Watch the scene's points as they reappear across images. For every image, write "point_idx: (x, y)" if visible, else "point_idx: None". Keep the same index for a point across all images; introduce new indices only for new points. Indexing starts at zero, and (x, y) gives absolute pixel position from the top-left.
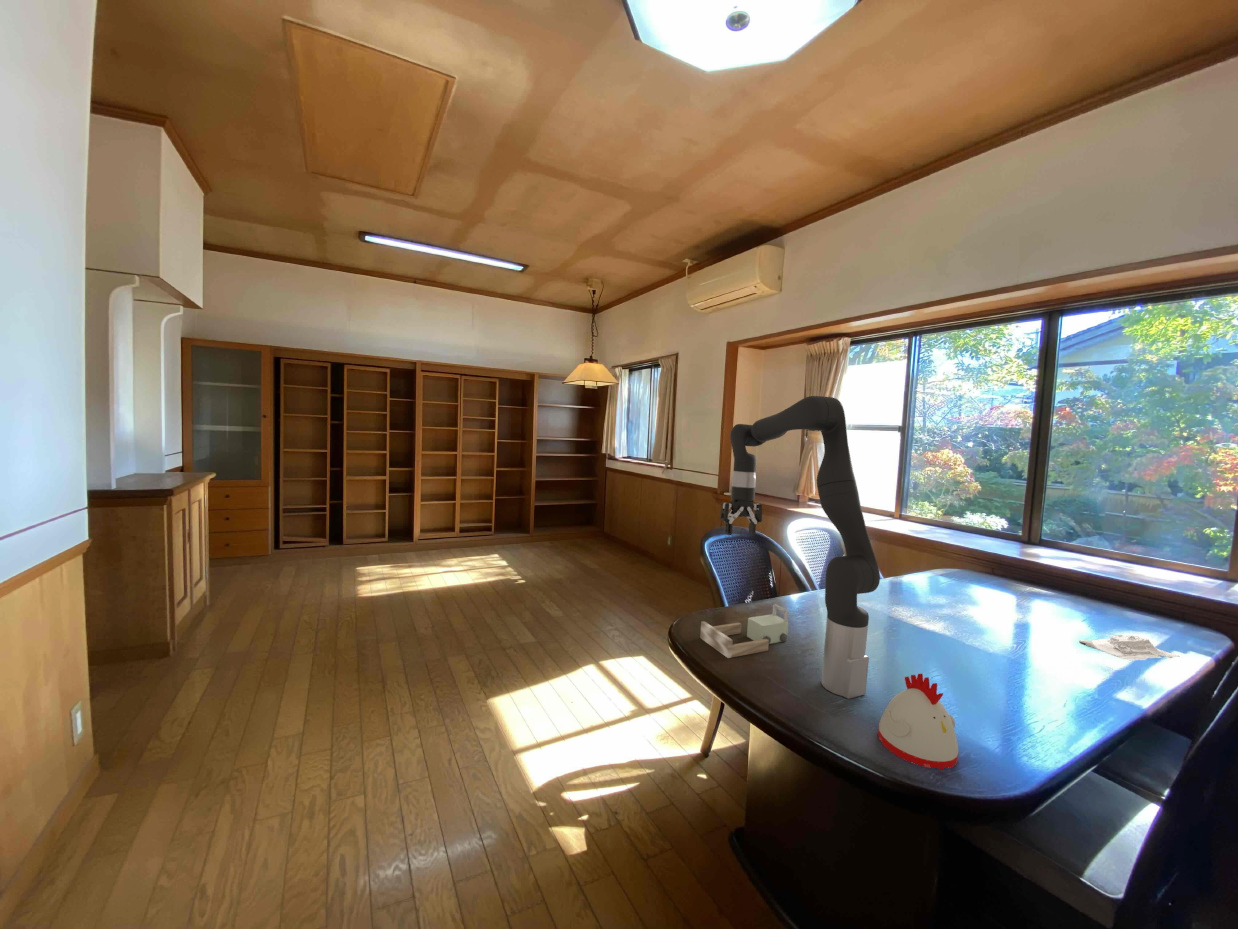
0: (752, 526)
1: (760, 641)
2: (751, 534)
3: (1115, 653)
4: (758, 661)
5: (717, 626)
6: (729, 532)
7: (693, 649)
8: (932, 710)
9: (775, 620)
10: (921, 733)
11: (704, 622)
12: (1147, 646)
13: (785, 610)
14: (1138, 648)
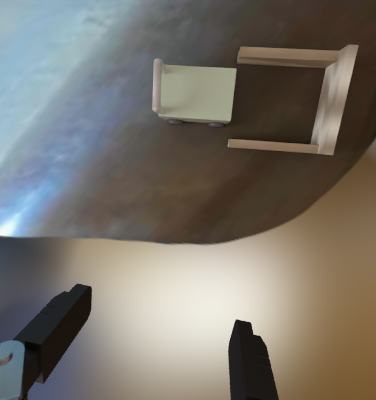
0: (54, 333)
1: (261, 49)
2: (88, 294)
3: None
4: (292, 23)
5: (286, 147)
6: (251, 338)
7: (365, 117)
8: None
9: (182, 83)
10: None
11: (329, 149)
12: None
13: (160, 63)
14: None
